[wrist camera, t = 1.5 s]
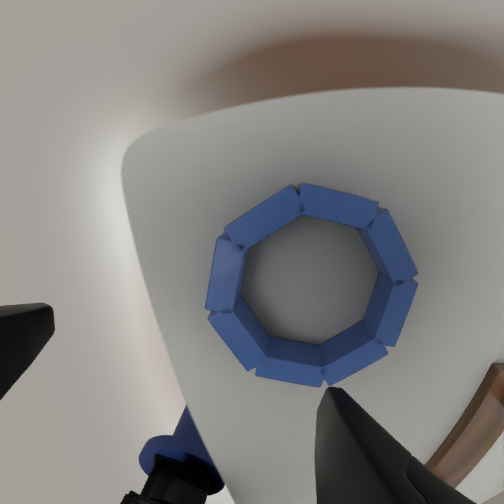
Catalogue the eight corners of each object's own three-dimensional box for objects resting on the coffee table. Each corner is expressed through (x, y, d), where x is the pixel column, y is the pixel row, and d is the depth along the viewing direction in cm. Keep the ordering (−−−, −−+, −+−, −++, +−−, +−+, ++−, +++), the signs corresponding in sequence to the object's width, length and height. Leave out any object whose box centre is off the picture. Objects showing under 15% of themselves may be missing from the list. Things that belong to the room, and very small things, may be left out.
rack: (397, 495, 23) (409, 540, 16) (492, 363, 18) (535, 408, 11) (444, 487, 22) (459, 526, 15) (533, 364, 18) (570, 399, 11)
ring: (206, 340, 20) (196, 361, 17) (238, 170, 18) (230, 167, 15) (363, 371, 20) (372, 394, 17) (416, 215, 17) (436, 220, 14)
